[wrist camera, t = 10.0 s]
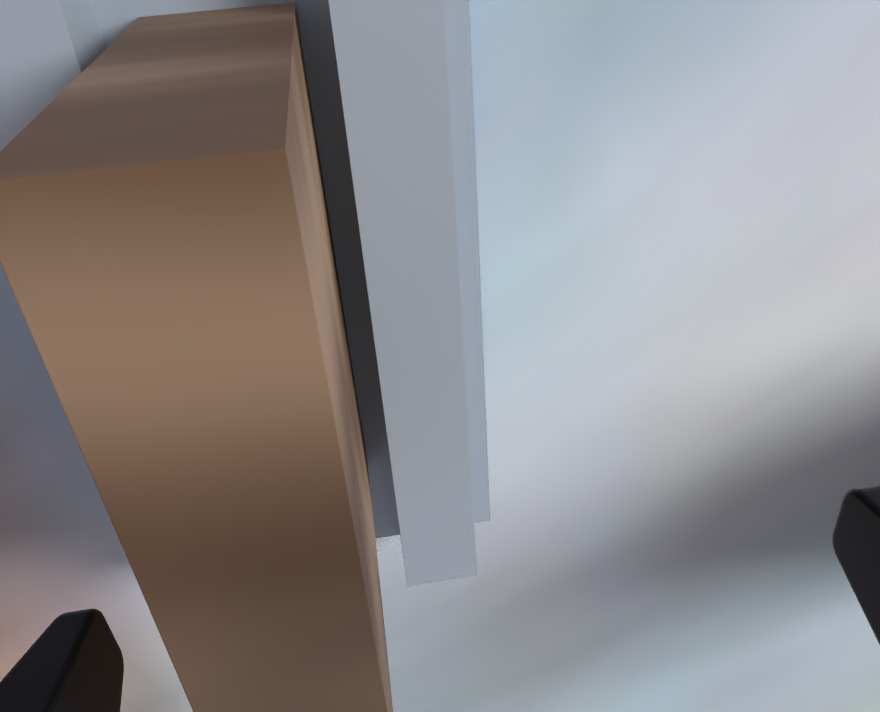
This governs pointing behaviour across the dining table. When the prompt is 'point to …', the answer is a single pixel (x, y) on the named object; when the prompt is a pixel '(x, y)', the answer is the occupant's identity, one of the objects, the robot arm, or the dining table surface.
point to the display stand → (359, 230)
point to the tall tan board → (208, 352)
